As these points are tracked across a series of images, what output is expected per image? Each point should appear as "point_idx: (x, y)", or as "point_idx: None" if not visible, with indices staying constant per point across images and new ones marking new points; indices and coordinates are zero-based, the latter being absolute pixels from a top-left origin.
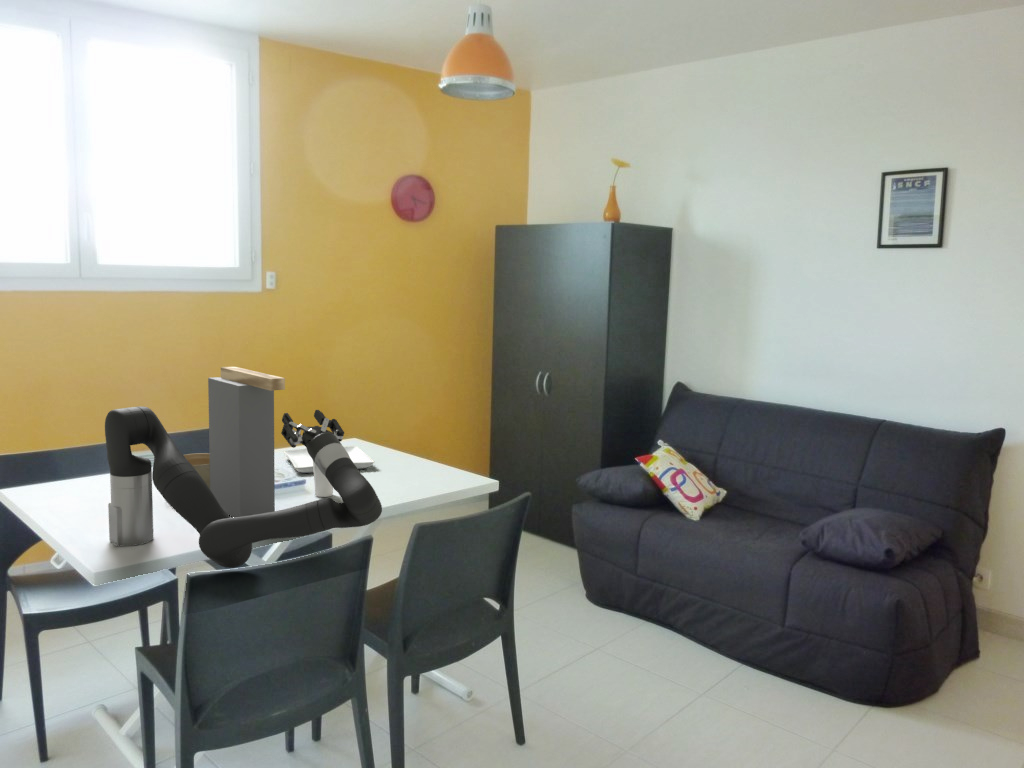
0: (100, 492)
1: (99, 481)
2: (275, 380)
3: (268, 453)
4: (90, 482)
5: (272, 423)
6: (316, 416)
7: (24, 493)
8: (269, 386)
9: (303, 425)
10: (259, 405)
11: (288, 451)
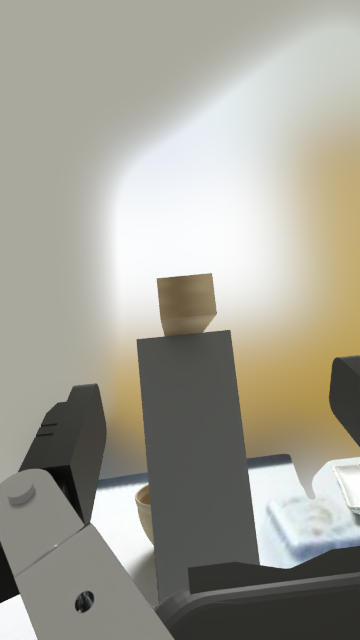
0: (90, 520)
1: (115, 497)
2: (176, 283)
3: (237, 525)
4: (106, 498)
5: (238, 437)
6: (348, 409)
7: None
8: (159, 306)
9: (111, 554)
10: (196, 388)
11: (339, 467)
